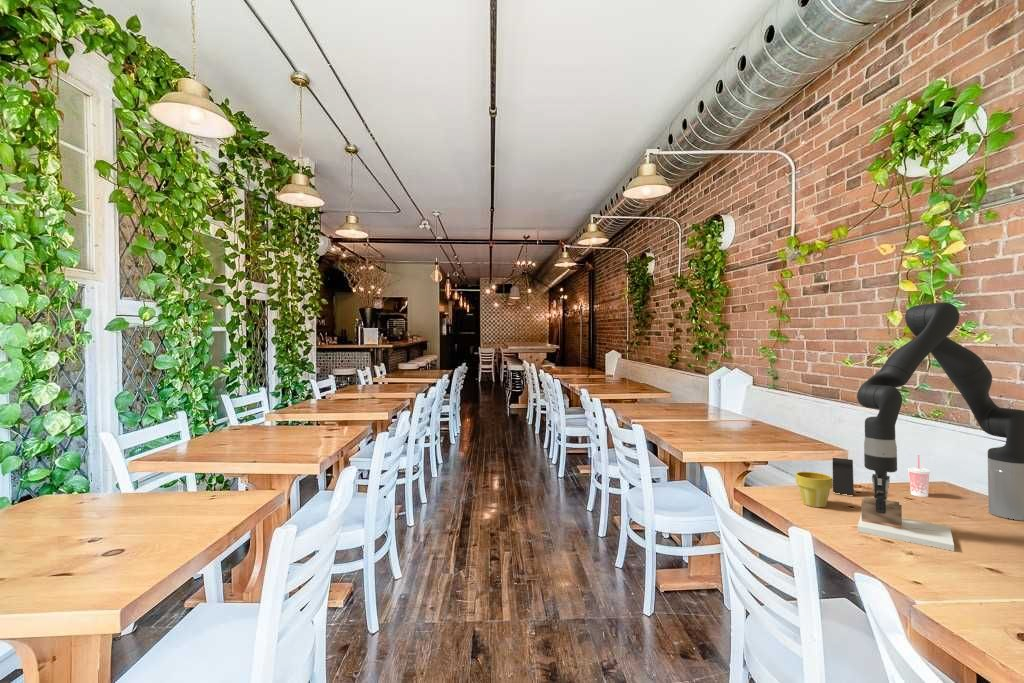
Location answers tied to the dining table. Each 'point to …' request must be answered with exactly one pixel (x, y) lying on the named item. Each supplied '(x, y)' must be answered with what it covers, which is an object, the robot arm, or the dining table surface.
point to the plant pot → (814, 488)
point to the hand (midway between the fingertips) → (881, 508)
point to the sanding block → (888, 519)
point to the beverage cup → (919, 480)
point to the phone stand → (843, 476)
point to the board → (912, 533)
